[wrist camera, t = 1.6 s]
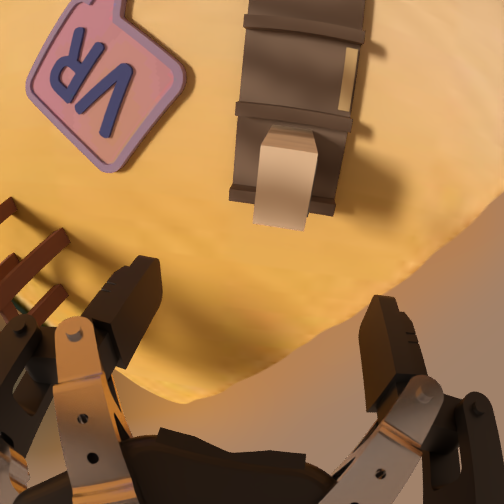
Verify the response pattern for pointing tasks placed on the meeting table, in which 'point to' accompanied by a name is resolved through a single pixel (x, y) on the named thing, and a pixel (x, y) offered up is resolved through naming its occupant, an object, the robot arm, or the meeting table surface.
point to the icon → (103, 81)
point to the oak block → (285, 178)
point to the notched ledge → (298, 86)
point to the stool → (30, 273)
